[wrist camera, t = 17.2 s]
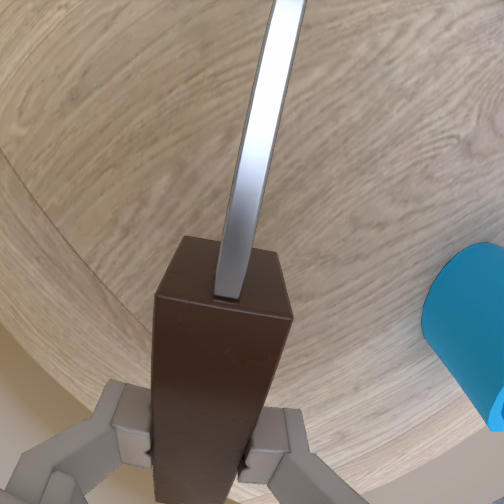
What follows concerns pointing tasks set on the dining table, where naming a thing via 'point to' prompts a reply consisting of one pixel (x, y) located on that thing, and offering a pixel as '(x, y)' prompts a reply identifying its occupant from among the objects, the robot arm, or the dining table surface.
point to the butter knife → (223, 309)
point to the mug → (471, 326)
